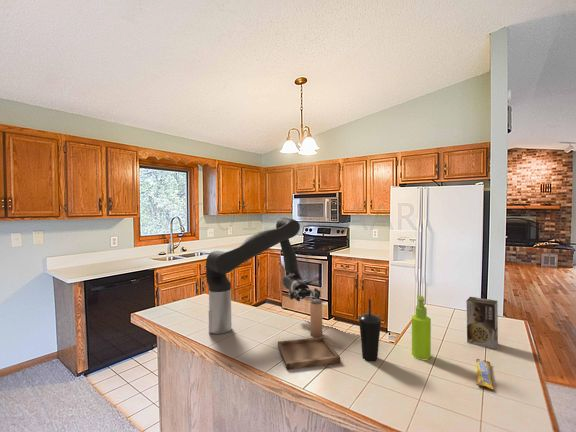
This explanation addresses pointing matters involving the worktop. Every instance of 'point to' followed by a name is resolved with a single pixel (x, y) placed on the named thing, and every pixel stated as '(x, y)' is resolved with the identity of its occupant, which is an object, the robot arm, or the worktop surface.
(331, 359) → the tray
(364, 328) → the drinking cup
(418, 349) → the soap dispenser
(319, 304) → the tan cylinder
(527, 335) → the worktop surface
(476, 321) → the coffee box
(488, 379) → the candy bar
